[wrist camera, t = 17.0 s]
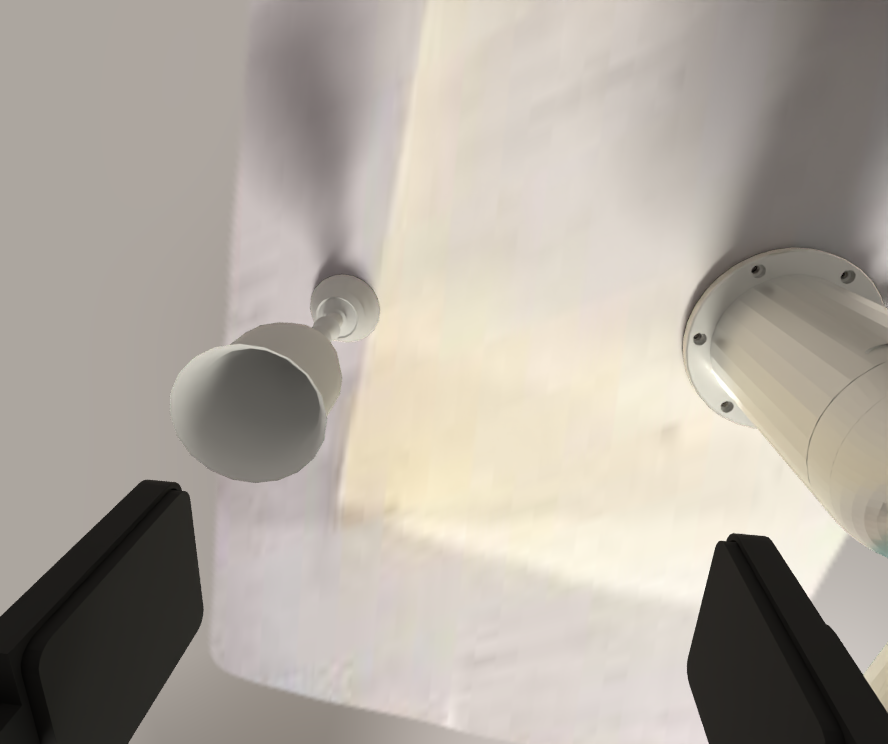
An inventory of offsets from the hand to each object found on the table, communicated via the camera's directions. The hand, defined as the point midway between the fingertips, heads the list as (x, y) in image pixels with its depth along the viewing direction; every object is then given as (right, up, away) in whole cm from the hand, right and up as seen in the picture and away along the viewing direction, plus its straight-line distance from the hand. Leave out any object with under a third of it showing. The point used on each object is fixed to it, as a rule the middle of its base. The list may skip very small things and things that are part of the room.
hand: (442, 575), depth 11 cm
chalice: (-7, +8, +34) cm, 35 cm away
